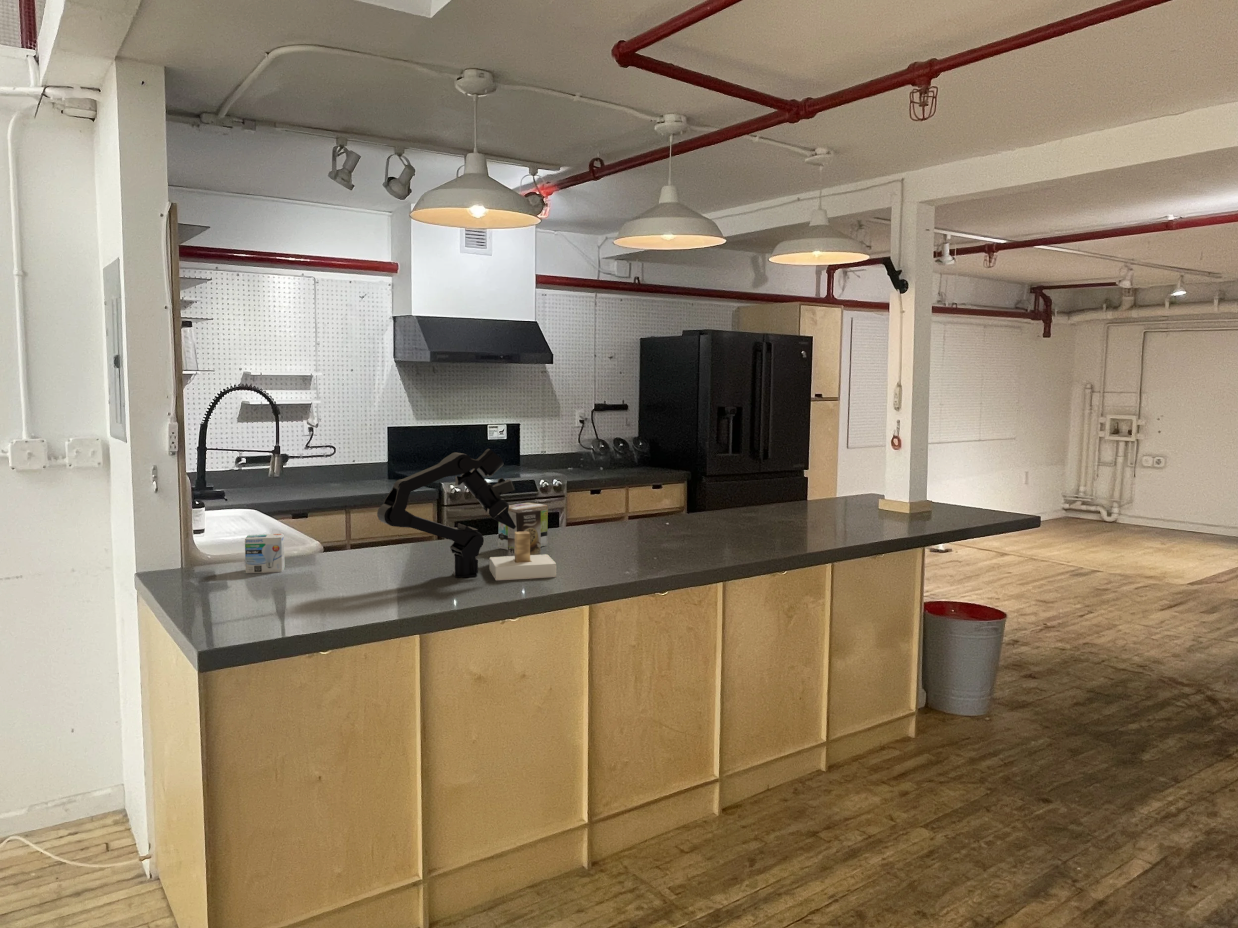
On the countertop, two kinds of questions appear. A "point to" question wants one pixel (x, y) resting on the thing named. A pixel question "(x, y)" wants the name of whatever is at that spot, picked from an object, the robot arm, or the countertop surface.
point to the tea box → (543, 508)
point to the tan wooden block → (522, 546)
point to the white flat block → (522, 567)
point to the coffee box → (526, 529)
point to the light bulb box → (264, 553)
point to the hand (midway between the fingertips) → (512, 525)
